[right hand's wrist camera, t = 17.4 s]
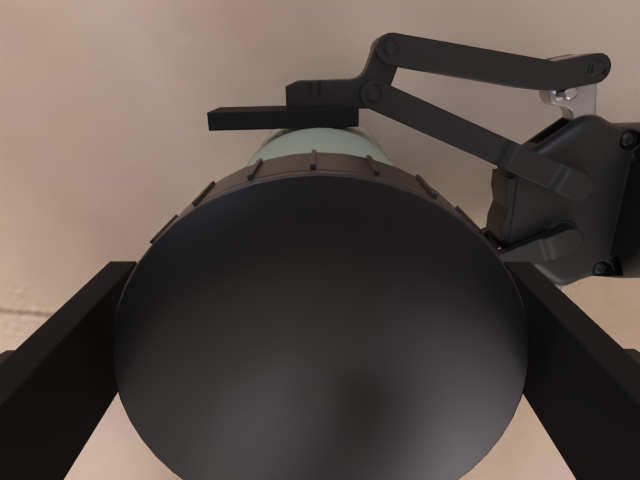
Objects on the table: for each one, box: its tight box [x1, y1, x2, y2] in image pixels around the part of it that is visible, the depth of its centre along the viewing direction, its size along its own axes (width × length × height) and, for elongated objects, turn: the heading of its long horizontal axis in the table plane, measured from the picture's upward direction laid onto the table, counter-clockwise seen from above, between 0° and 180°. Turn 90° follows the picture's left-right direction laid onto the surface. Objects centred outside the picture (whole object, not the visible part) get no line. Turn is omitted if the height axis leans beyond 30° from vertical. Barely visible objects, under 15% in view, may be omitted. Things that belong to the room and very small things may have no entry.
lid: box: [112, 149, 530, 480], centre depth 11 cm, size 10×10×2 cm
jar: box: [246, 124, 395, 167], centre depth 20 cm, size 8×8×19 cm
